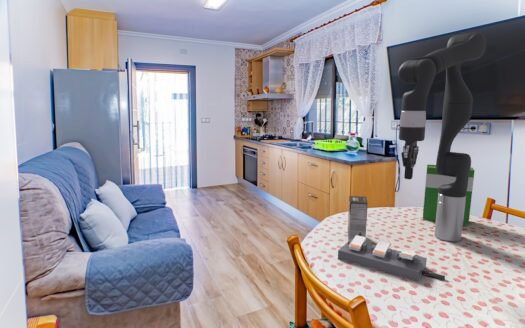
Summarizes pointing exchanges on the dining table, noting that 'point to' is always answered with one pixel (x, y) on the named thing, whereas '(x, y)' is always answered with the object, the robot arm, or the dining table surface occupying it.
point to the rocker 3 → (407, 255)
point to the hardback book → (432, 193)
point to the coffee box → (357, 216)
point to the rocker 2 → (381, 248)
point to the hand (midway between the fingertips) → (408, 178)
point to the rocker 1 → (357, 243)
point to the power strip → (387, 262)
